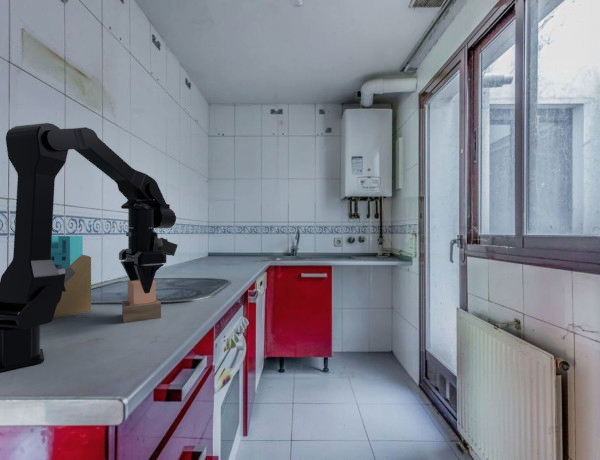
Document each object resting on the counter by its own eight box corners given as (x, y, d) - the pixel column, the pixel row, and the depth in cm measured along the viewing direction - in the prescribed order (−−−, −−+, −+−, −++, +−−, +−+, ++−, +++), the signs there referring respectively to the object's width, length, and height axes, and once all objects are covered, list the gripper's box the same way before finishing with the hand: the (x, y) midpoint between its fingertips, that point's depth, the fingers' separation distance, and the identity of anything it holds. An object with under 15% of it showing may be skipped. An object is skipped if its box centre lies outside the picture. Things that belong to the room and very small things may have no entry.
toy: (39, 305, 90) (39, 236, 90) (56, 301, 96) (56, 235, 96) (70, 306, 89) (70, 236, 89) (85, 301, 95) (85, 235, 95)
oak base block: (161, 319, 77) (160, 302, 77) (123, 324, 73) (123, 306, 73) (156, 312, 84) (156, 296, 84) (122, 316, 80) (122, 300, 80)
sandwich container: (9, 318, 78) (9, 258, 78) (82, 307, 89) (82, 254, 89) (13, 325, 72) (13, 260, 72) (91, 312, 84) (91, 255, 84)
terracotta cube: (155, 301, 78) (155, 281, 78) (133, 304, 75) (133, 283, 75) (148, 298, 82) (148, 278, 82) (127, 301, 78) (127, 281, 78)
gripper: (188, 227, 77) (188, 291, 77) (161, 228, 91) (161, 282, 91) (138, 227, 69) (138, 298, 69) (118, 228, 83) (118, 287, 83)
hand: (141, 290), depth 78 cm, fingers open, 9 cm apart
